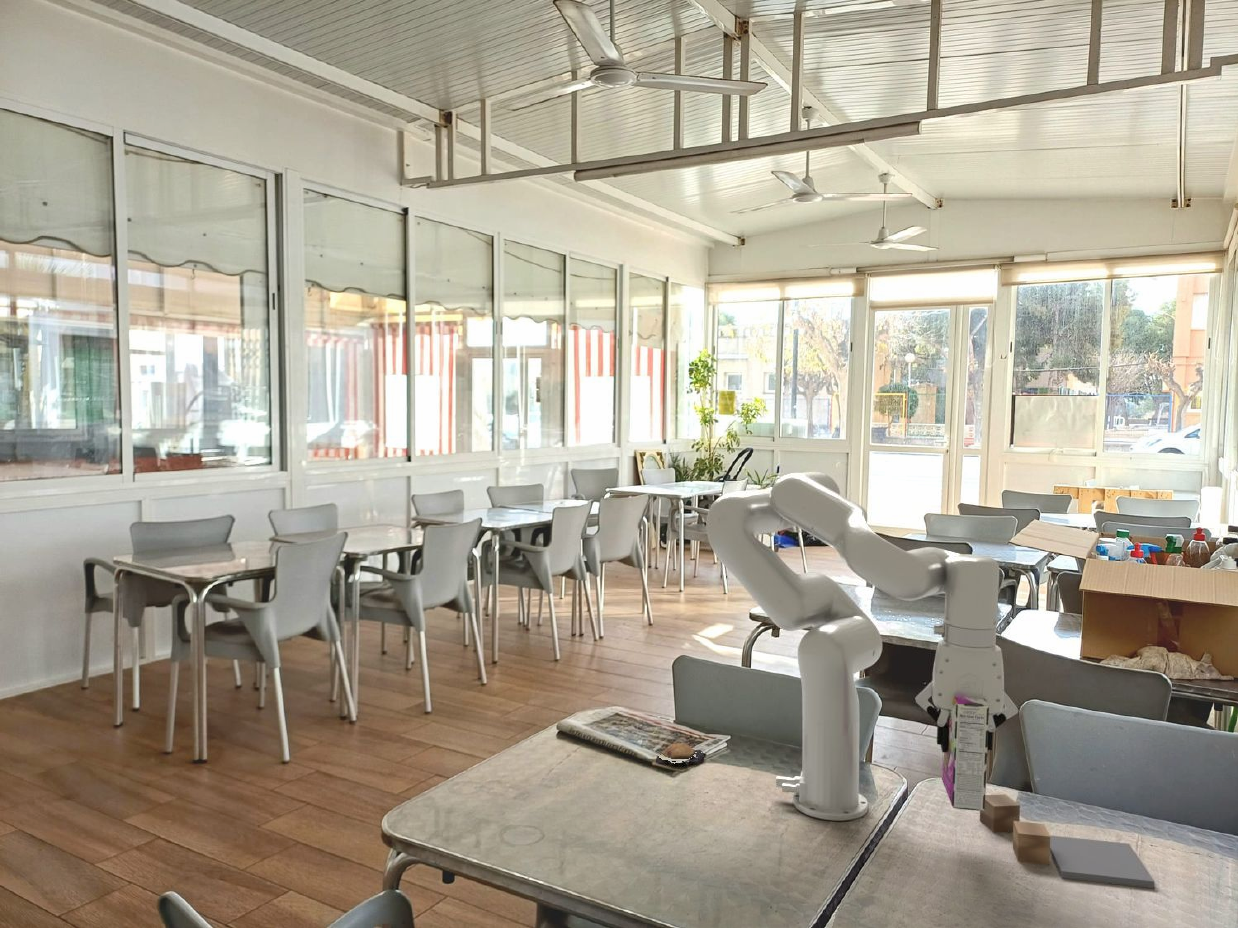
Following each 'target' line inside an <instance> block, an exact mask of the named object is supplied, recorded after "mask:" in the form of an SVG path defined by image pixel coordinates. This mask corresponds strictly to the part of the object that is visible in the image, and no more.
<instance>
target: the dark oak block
mask: <svg viewBox="0 0 1238 928" xmlns="http://www.w3.org/2000/svg"><path fill="white" fill-rule="evenodd" d="M1020 813H1021V805H1020V804H1019V803H1018V802H1016V801H1015V800H1014V799H1012V798H1011V797H1010V796H1008V795H1007V794H1003V793H1002V794H985V811H979V821H980V823H982V824H983V825H984V827H986V828H987V829H988V830H989V831H990V832H992V834H997V833H998V834H1001V833H1013V821H1020V819H1021V818H1020V815H1021V814H1020ZM1020 822H1021V821H1020Z"/></svg>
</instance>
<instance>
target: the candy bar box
mask: <svg viewBox="0 0 1238 928" xmlns="http://www.w3.org/2000/svg"><path fill="white" fill-rule="evenodd" d="M988 719H989V705H988V703H987V701H986V700H985V699H977V698H967V697H953V705H952V711H950V713H949V716H948V718H947V725H948V750H947V752H946V753H945V752H942V763H941V765H942V766H941V780H942V781H941V782H942V784H943V786H944V788H945V790H946V791H945V792H946V793H947V796H948V799H949V801H950V804H951V807H952V808H953V809H956V810H966V811H967V810H968V811H976V812H977V811H978V812H980V811H985V795H986V788H987V787H986V786H987V766H988V764H987V762H988V756H987V745H988Z"/></svg>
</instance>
